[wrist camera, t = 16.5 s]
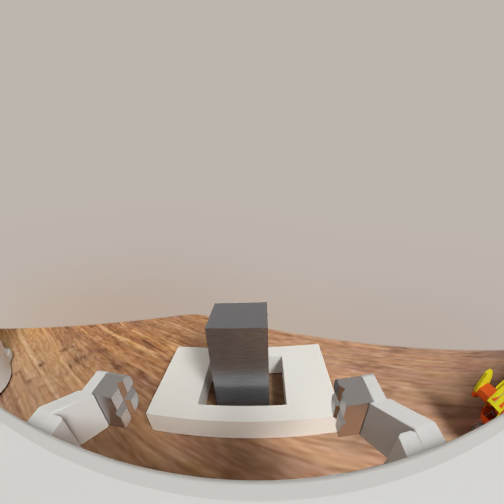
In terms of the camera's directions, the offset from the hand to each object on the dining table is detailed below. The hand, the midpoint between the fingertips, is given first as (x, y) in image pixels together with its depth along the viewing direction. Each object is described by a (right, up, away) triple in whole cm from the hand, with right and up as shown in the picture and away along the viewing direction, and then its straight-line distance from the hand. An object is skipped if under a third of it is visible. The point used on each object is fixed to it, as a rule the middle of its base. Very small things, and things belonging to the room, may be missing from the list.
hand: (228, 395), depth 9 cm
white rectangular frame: (0, -10, +16) cm, 19 cm away
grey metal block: (0, -10, +16) cm, 19 cm away
